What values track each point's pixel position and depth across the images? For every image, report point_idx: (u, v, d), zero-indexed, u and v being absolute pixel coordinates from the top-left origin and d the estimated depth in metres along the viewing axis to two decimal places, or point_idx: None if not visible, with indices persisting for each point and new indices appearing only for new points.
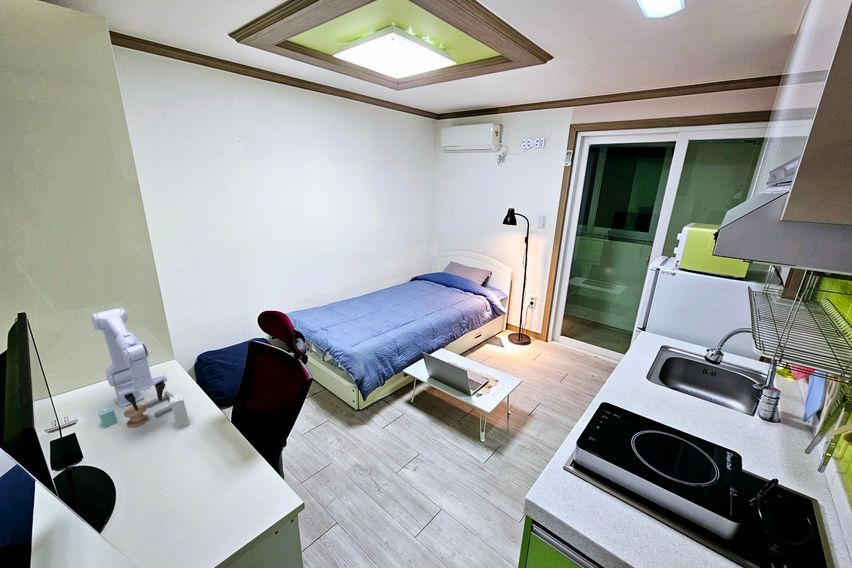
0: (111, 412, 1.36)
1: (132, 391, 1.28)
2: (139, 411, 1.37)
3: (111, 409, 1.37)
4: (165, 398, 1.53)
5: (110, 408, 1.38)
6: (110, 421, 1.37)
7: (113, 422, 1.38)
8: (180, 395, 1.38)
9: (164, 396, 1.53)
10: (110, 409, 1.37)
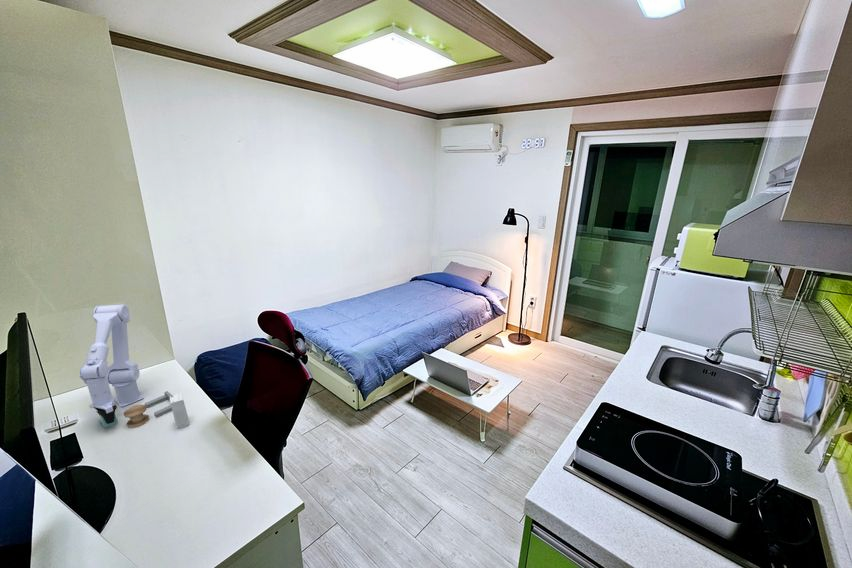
0: None
1: None
2: (139, 411, 1.37)
3: None
4: (165, 398, 1.53)
5: None
6: None
7: (113, 422, 1.38)
8: (180, 395, 1.38)
9: (164, 396, 1.53)
10: None
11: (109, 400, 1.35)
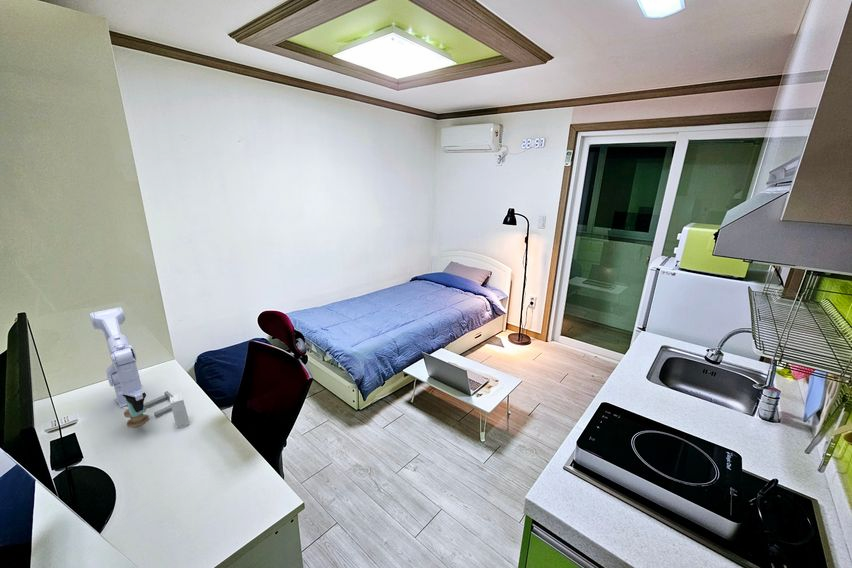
0: None
1: None
2: None
3: None
4: (165, 398, 1.53)
5: None
6: None
7: (141, 411, 1.33)
8: (180, 395, 1.38)
9: (164, 396, 1.53)
10: None
11: (138, 387, 1.30)
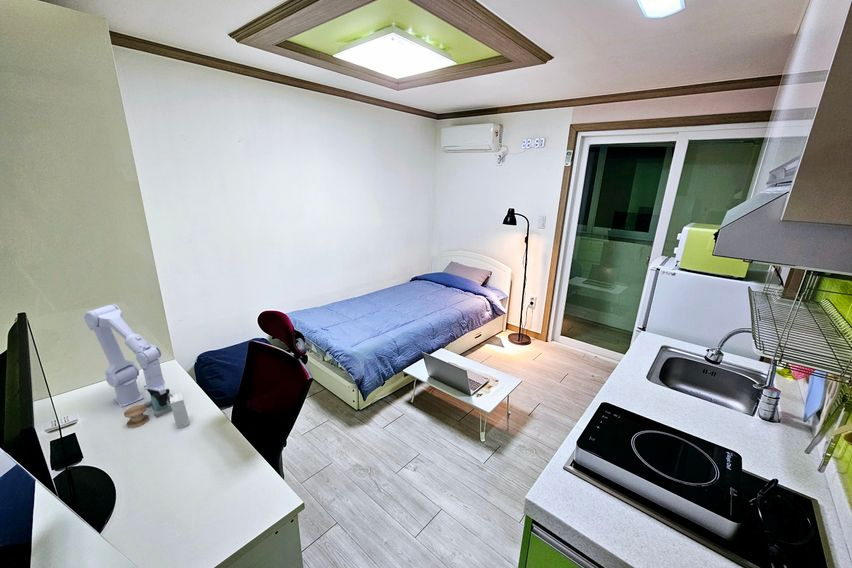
0: None
1: None
2: (139, 411, 1.37)
3: None
4: None
5: None
6: None
7: (164, 406, 1.47)
8: (180, 395, 1.38)
9: None
10: None
11: (161, 383, 1.44)
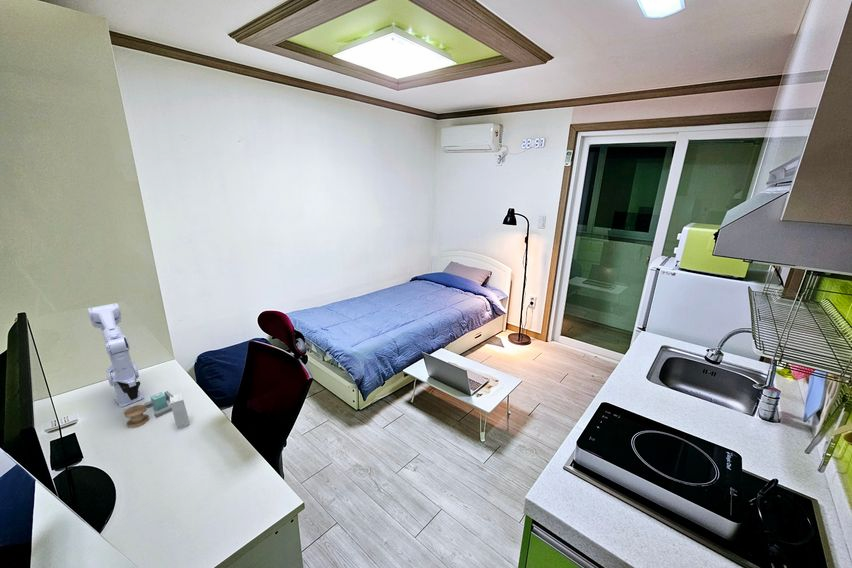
0: (163, 397, 1.46)
1: None
2: (139, 411, 1.37)
3: (162, 394, 1.47)
4: None
5: (161, 393, 1.48)
6: (162, 405, 1.47)
7: (164, 406, 1.47)
8: (180, 395, 1.38)
9: None
10: (161, 394, 1.47)
11: (131, 375, 1.38)
